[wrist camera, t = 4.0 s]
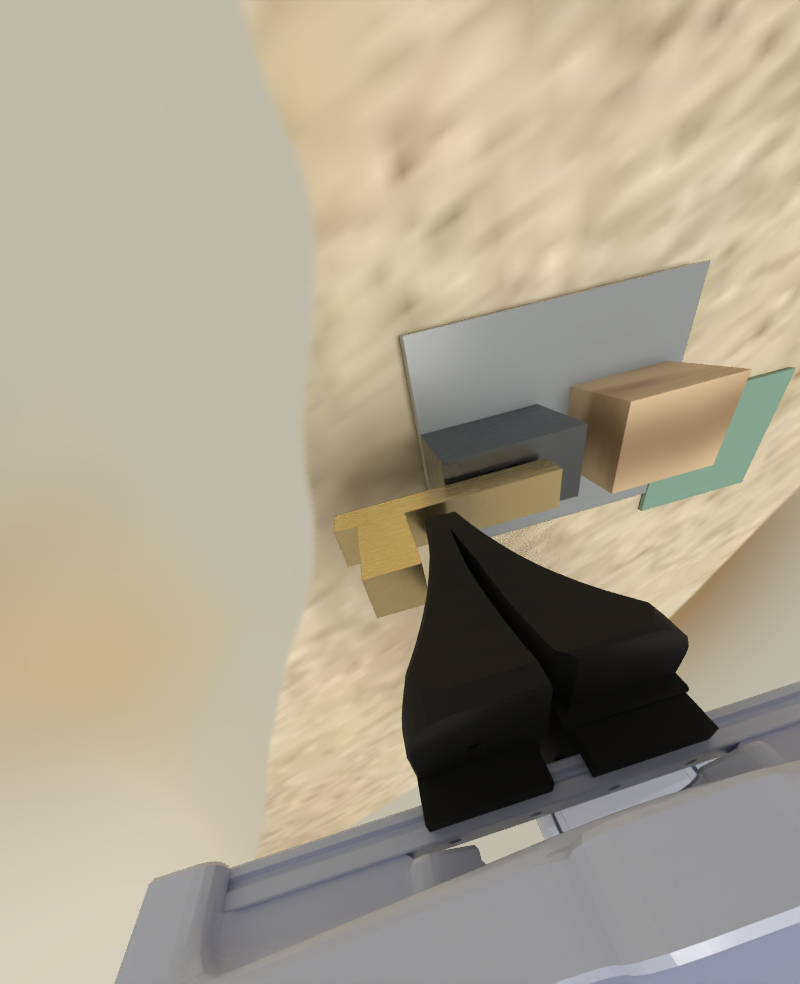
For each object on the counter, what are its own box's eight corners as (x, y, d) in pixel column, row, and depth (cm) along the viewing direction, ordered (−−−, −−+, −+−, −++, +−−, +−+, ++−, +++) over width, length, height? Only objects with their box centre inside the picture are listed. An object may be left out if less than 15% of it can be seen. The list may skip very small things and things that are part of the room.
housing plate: (633, 486, 22) (702, 523, 18) (437, 542, 22) (460, 594, 17) (689, 264, 15) (825, 238, 11) (399, 336, 15) (423, 338, 10)
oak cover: (647, 440, 19) (713, 464, 16) (563, 464, 19) (611, 493, 16) (667, 360, 17) (752, 368, 13) (570, 386, 16) (631, 401, 13)
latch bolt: (543, 494, 14) (611, 549, 11) (347, 548, 14) (350, 626, 10) (545, 458, 13) (621, 505, 10) (334, 516, 13) (331, 589, 9)
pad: (737, 480, 24) (741, 482, 24) (638, 508, 24) (641, 510, 24) (790, 367, 20) (796, 367, 19) (668, 400, 19) (672, 401, 19)
